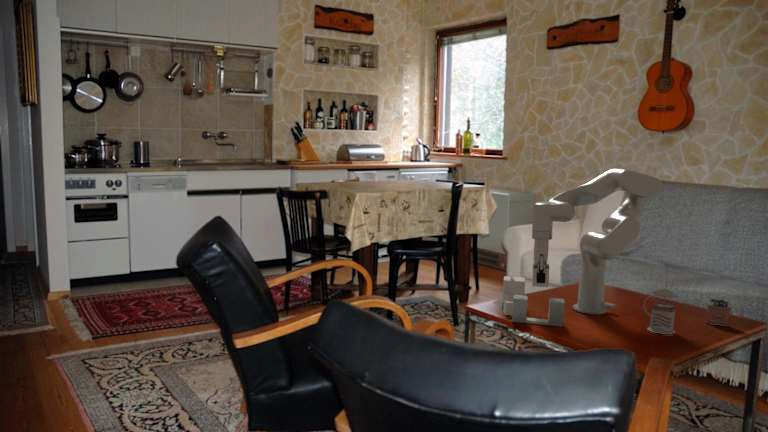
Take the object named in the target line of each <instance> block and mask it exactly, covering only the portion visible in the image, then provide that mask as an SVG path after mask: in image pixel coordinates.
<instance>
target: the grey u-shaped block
mask: <svg viewBox="0 0 768 432" xmlns="http://www.w3.org/2000/svg"><path fill="white" fill-rule="evenodd" d="M528 298H529V297H528V295H525V294H524V295H514V297H513V312H512V316H511V322H513V323H520V324H521V323H523V324H532V325H541V326H542V325H543V326H552V327H560V328H561V327H563V326H564V319H565V318H564V315H565V299H564V298H557V297H556V298H555V297H549V301H548V303H549V304H548V314H547V315H548V317H547V318H537V317H536V318H535V317H528V316H527V314H528V313H527V312H528V311H527V310H528V302H529V301H528Z"/></svg>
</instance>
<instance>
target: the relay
mask: <svg viewBox="0 0 768 432" xmlns="http://www.w3.org/2000/svg"><path fill="white" fill-rule="evenodd" d="M502 310H503V311H502V312H503V315H505V316H506V315H510V316H509V317H512V312H513V300H504V308H503V309H502Z"/></svg>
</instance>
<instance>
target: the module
mask: <svg viewBox="0 0 768 432" xmlns="http://www.w3.org/2000/svg"><path fill="white" fill-rule="evenodd" d="M539 264H540V263H539ZM543 265H544V264H543ZM539 267H540V266H539ZM537 272H538V264H536V265H534V262H532V274H531V275H532V282H531V283H532V284H531V285H532V287H537V288H538V287H539V288H549V287H550V286H549V284H550V283H549V282H550V264H549V263H547V265H545V283H537V282H536V280H537Z"/></svg>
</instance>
